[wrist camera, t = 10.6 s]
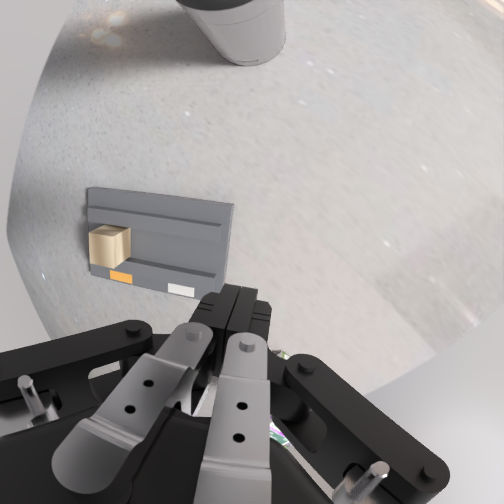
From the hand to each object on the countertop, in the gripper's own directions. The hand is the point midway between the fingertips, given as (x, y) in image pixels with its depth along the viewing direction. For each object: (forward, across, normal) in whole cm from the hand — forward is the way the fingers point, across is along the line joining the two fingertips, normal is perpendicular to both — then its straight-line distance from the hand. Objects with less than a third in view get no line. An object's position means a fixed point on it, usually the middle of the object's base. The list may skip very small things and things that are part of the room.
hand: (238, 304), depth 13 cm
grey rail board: (+27, +16, +8) cm, 32 cm away
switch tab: (+25, +21, +8) cm, 34 cm away
